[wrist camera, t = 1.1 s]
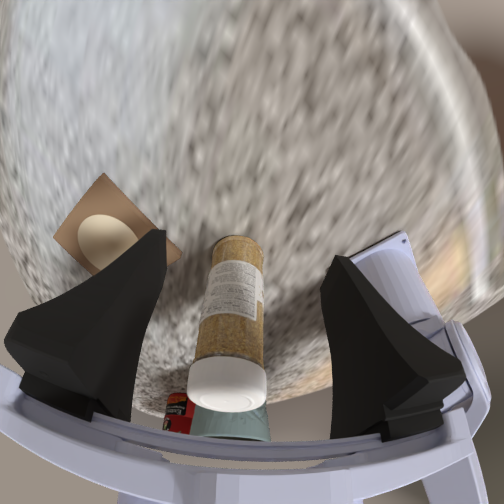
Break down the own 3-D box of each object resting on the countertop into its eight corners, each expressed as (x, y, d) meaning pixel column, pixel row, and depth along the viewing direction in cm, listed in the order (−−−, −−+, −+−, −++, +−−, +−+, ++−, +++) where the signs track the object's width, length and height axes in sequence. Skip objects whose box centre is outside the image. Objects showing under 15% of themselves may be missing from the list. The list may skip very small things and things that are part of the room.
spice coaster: (182, 252, 24) (180, 258, 24) (122, 292, 28) (119, 298, 27) (103, 172, 19) (99, 176, 19) (56, 232, 23) (52, 238, 22)
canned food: (182, 389, 43) (174, 445, 35) (216, 402, 47) (212, 454, 38) (160, 396, 47) (152, 445, 38) (192, 409, 50) (187, 455, 41)
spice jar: (254, 278, 26) (251, 418, 16) (207, 266, 25) (181, 406, 15) (271, 240, 23) (279, 394, 13) (219, 226, 23) (191, 380, 12)
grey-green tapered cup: (191, 372, 39) (181, 444, 29) (210, 341, 33) (200, 431, 24) (252, 385, 41) (250, 454, 32) (282, 358, 35) (286, 441, 26)
